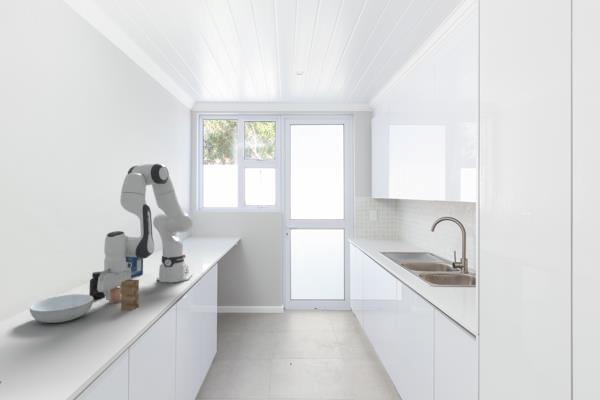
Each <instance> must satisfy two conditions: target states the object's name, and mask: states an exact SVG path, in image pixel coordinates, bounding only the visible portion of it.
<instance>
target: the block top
mask: <svg viewBox="0 0 600 400" xmlns="http://www.w3.org/2000/svg"><path fill="white" fill-rule="evenodd" d="M139 281H140V280H139V279H132V278H131V279H128V280H125V281H123V282H121V291H123V292H133V291H135V290H137V289H139V287H140V285H139V284H140V282H139ZM139 290H140V289H139Z"/></svg>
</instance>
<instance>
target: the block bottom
mask: <svg viewBox="0 0 600 400" xmlns="http://www.w3.org/2000/svg"><path fill="white" fill-rule="evenodd" d="M139 298H140V297H139ZM139 298H137V299H135V300H133V301H120V310H121V311H133V310H135V309H137V308H139V307H140V305H139V304H140V303H139V301H140V299H139Z"/></svg>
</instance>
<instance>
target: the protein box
mask: <svg viewBox="0 0 600 400" xmlns="http://www.w3.org/2000/svg"><path fill="white" fill-rule="evenodd" d="M125 258H126V262H129V263H132V267H131V279H133V277H134V278H137V277H140V276H142V274H144V258H138V257H125ZM139 275H140V276H139ZM136 276H137V277H136Z"/></svg>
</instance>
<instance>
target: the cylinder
mask: <svg viewBox="0 0 600 400" xmlns="http://www.w3.org/2000/svg"><path fill="white" fill-rule="evenodd" d="M109 294H110V295H111V299H110V300H108V302H109V304H117V303H121V288H120V286H118V287H116V288H114V289H111V290H110V292H109Z"/></svg>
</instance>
